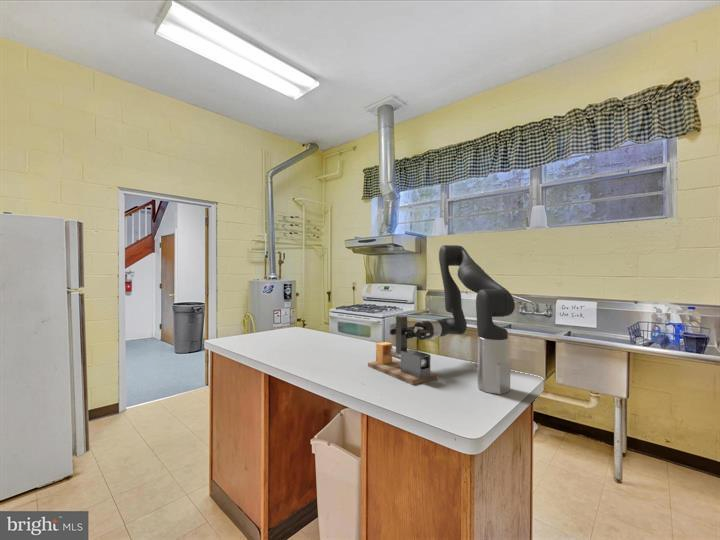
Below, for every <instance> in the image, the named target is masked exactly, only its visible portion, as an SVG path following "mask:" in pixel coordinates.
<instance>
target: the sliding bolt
mask: <svg viewBox="0 0 720 540" xmlns="http://www.w3.org/2000/svg"><path fill="white" fill-rule="evenodd" d="M407 326H408V316H405V315H398V316H397V315H396V316H395V327H396V334H395V349H394V348H392V349H391V350H390V351H389V355H390V356H392V358H395V359H397V360H401V351H403V350H408V339H406V338H405V333H406V332H407ZM426 365H427V360H426V359H425V358H421V367H425V366H426Z"/></svg>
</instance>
